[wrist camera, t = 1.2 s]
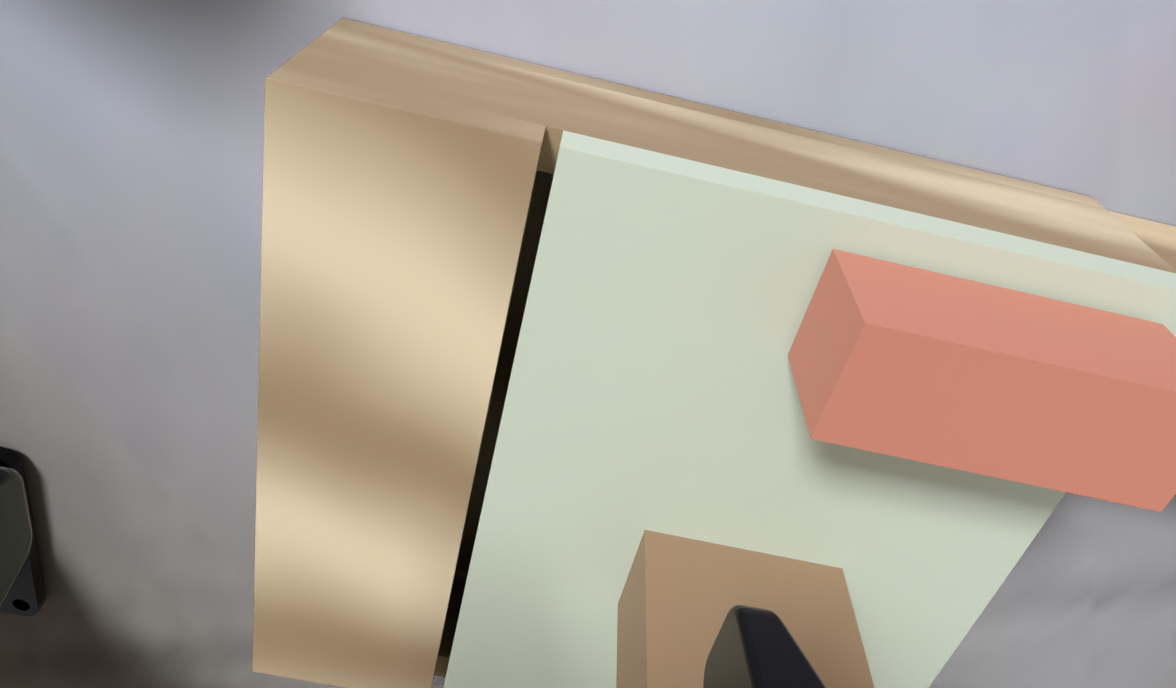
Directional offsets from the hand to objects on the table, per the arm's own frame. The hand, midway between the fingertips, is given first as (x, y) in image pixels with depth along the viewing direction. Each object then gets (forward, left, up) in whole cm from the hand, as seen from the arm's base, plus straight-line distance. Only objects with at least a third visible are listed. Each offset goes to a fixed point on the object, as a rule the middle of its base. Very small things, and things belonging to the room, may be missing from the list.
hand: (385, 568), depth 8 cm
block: (0, -9, -8) cm, 11 cm away
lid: (-6, -7, -8) cm, 12 cm away
